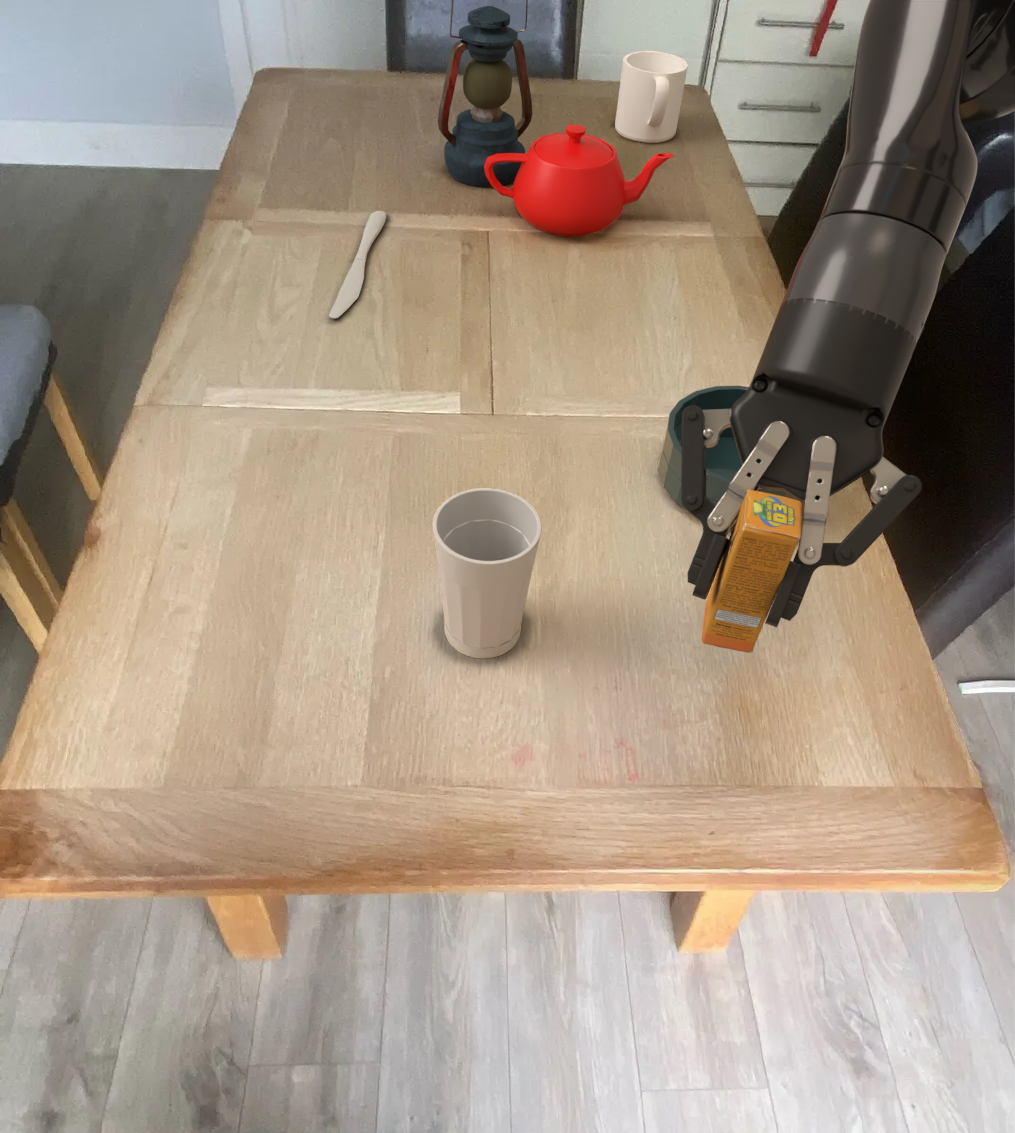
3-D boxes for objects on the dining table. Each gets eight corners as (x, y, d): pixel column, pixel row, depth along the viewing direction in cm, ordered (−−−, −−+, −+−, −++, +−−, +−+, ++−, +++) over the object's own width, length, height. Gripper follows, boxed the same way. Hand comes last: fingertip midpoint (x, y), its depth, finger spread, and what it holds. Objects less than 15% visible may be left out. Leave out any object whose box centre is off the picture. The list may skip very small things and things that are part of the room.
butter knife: (394, 211, 123) (372, 207, 123) (347, 320, 105) (322, 316, 105) (394, 215, 123) (372, 212, 123) (347, 324, 105) (322, 320, 105)
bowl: (810, 446, 93) (828, 399, 89) (814, 549, 83) (835, 501, 79) (664, 422, 95) (674, 375, 90) (650, 520, 85) (661, 471, 80)
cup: (523, 673, 72) (533, 571, 63) (424, 658, 72) (421, 554, 64) (536, 599, 77) (548, 495, 68) (445, 585, 78) (445, 480, 69)
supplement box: (757, 657, 54) (803, 539, 47) (699, 645, 54) (736, 527, 47) (760, 615, 56) (803, 497, 49) (704, 604, 57) (739, 485, 49)
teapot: (481, 242, 119) (484, 148, 111) (483, 189, 130) (486, 100, 121) (669, 250, 120) (686, 158, 111) (655, 197, 131) (671, 109, 122)
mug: (610, 117, 151) (618, 50, 143) (669, 119, 151) (680, 51, 144) (622, 149, 142) (632, 79, 135) (684, 150, 143) (697, 80, 135)
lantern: (454, 195, 128) (456, -107, 103) (425, 161, 136) (420, -129, 110) (544, 182, 133) (567, -111, 107) (512, 149, 140) (526, -132, 114)
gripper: (721, 264, 48) (607, 565, 50) (998, 338, 44) (866, 664, 46) (728, 306, 55) (629, 568, 57) (968, 374, 51) (854, 654, 53)
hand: (735, 609), depth 51 cm, fingers closed on supplement box, 3 cm apart
